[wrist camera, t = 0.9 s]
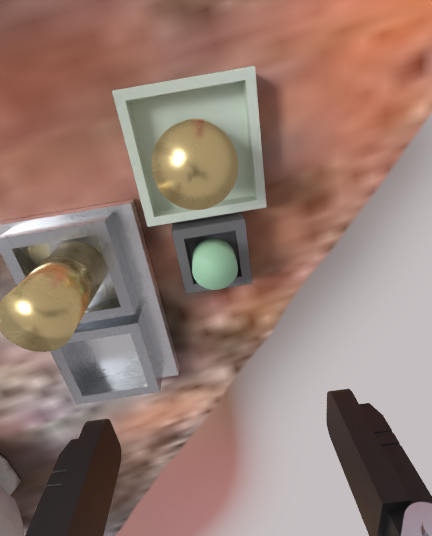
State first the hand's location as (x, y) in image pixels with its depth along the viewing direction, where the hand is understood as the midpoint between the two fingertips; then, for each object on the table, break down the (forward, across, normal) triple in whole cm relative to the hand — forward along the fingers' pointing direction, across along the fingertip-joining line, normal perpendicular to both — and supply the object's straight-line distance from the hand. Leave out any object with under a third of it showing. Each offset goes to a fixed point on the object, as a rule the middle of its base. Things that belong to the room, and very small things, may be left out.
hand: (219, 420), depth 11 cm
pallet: (+15, +10, +3) cm, 18 cm away
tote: (+15, 0, -8) cm, 17 cm away
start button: (+12, 0, -1) cm, 13 cm away
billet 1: (+13, +10, -1) cm, 17 cm away
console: (+15, 0, -1) cm, 15 cm away
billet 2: (+14, 0, -8) cm, 16 cm away
